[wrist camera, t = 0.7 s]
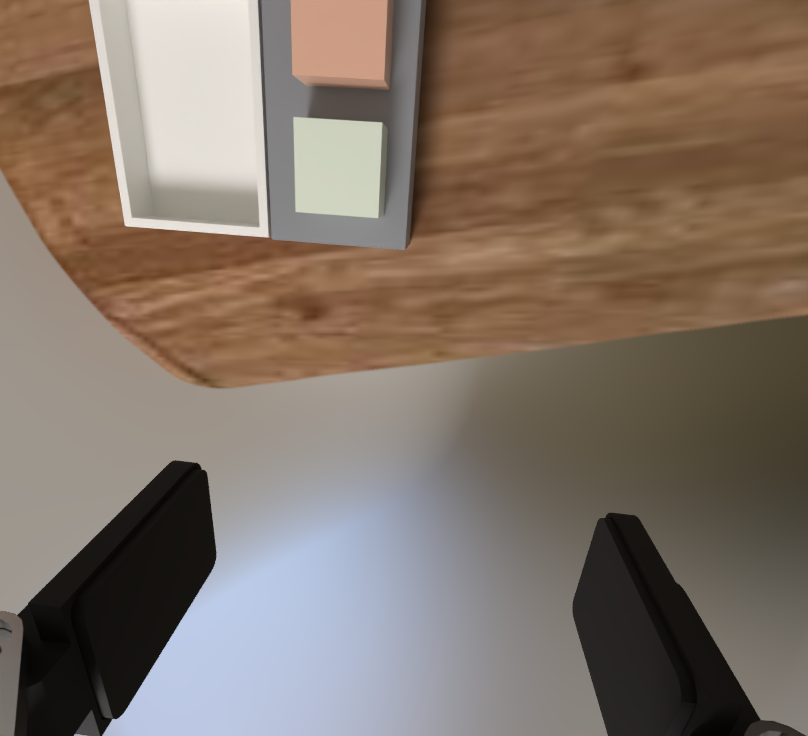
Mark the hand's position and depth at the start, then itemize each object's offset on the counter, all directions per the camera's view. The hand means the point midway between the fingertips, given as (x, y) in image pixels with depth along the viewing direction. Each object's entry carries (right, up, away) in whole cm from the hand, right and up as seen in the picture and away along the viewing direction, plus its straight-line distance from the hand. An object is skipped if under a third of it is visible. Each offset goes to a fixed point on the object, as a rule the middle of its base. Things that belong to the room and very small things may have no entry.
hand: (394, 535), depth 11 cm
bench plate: (-3, +21, +20) cm, 29 cm away
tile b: (-3, +16, +17) cm, 24 cm away
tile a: (-3, +23, +15) cm, 27 cm away
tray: (-14, +22, +20) cm, 33 cm away
